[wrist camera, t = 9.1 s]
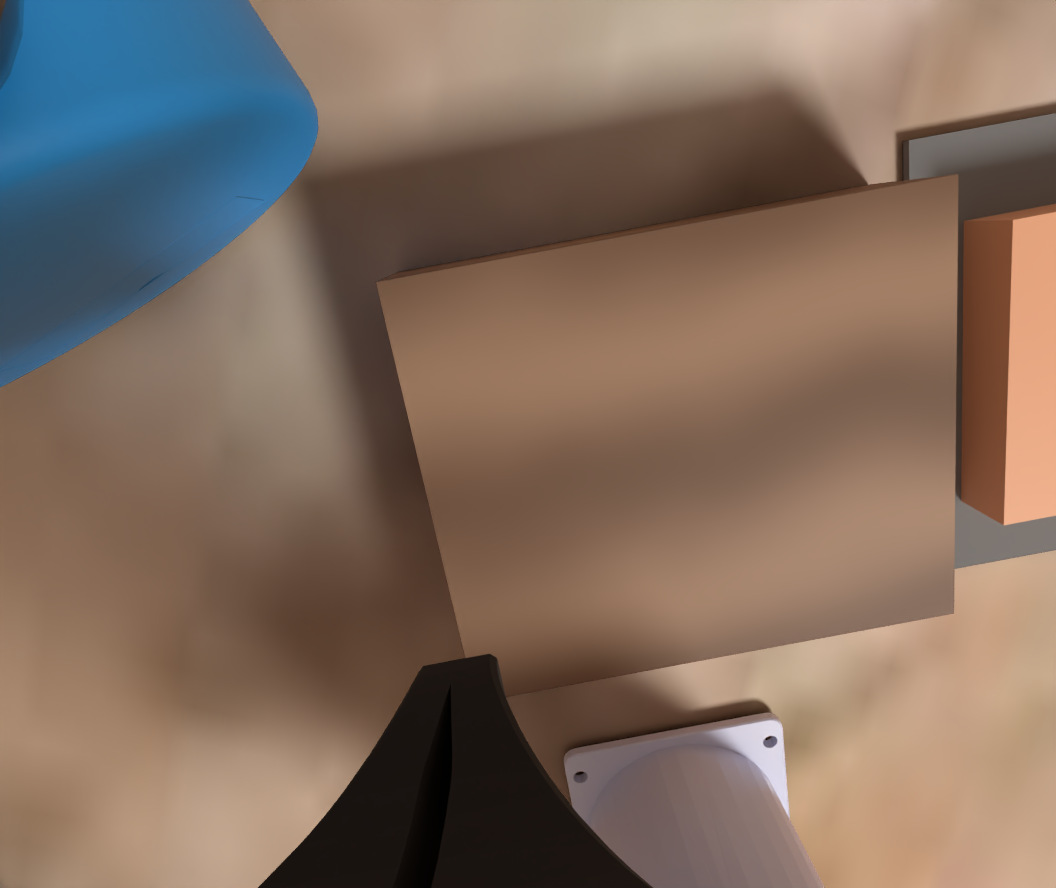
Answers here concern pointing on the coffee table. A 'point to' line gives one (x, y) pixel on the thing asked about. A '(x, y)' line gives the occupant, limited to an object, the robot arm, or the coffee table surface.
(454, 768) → the robot arm
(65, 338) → the alarm clock
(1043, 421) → the peach rectangular block
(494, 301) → the tan flat block
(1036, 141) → the mat
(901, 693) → the coffee table surface
